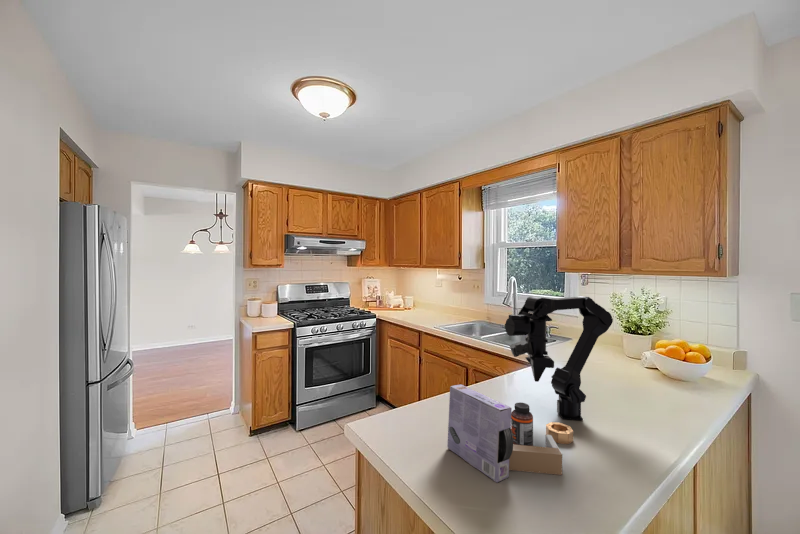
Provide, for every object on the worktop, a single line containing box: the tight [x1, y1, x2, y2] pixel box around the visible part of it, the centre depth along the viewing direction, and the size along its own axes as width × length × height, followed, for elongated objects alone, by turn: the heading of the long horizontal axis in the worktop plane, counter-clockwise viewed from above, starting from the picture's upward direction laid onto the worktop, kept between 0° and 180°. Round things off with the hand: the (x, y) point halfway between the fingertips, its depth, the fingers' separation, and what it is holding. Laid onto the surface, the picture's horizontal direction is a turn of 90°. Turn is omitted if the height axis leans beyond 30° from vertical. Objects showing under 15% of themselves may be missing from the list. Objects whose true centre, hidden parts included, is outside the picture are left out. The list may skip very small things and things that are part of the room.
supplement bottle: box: [511, 402, 534, 446], centre depth 97 cm, size 6×6×11 cm
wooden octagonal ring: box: [545, 421, 574, 445], centre depth 101 cm, size 7×7×3 cm
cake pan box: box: [446, 384, 514, 484], centre depth 88 cm, size 19×5×18 cm, turn 33°
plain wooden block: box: [509, 434, 563, 476], centre depth 90 cm, size 16×13×5 cm
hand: (536, 381), depth 112 cm, fingers closed
